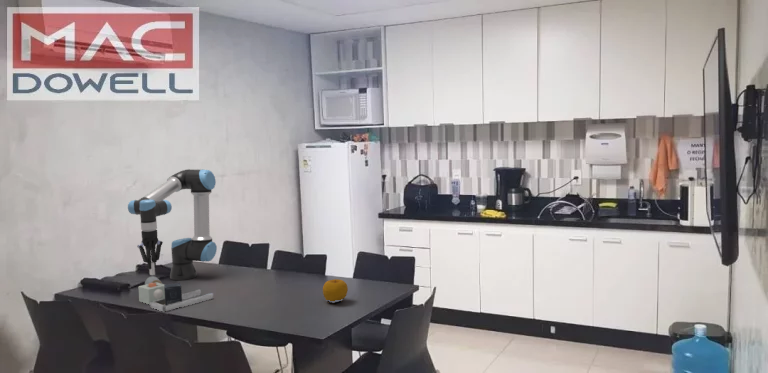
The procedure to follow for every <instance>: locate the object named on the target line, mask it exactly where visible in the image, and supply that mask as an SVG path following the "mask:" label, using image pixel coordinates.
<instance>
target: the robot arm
mask: <svg viewBox="0 0 768 373" xmlns="http://www.w3.org/2000/svg"><path fill="white" fill-rule="evenodd" d="M216 182H217V181H216V176H215V175H214V173H213V172H212V171H211V170H210V169H189V168H188V169H182V170H180V171H177V172H175V173H174V174H173V175H171V176H169V177H168V178H167V179H166V181H165V182H163V183H162V184H160V185H159V186H158V187H156V188H154V189H152V190H151V191H150V192H149V193H147V194H145V195H144V196H143V197H141V198H139V199H138V200H136V199H135V200H130V201H129V202H128V204H127V209H128V212H129V214H131V215H137V216H138V215H139V217H140V229H141V242H140V244H137V248H138V250H139V252H140V254H141V255H140V256H141V258H142V261H143V262H144V263H146V264H147V269H148V270H149V271H148V272H149V275H150V276H156V268H157V262H158V261H159V260H160V256H161V248H162V245H163V243H164V241H162V240H159V238H158V230H157V229H158V227H157V226H158V225H157V223H158V222H157V217H160V216H165V215H167V214H169V213H171V212H172V203H171V202H170V201H169V200H167V198H168V197H170V196H172V195H173V194H174V193H178V192H180V191H182V190H190V193H191V195H192V196H193V226H194V228H193V233H194V234H193V237H184V238H179V239H175V240H172V241H171V265H172V266H171V269H170V272H169V273H170V274H169V278H170V280H172V281H186V280H192V279H194V278H196V277H197V276H198V275H197V270H196V268H195V265H194V262H203V263H204V262H210V261H212V260H213V259H214V258H215V256H216V254H217V249H218V248H217V244H216V243H215V242H214V241H213V237H212V236H211V235H210V194H211V193H212V191H213V189H215V186H216ZM144 248H145V249H144Z"/></svg>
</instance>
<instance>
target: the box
mask: <svg viewBox="0 0 768 373" xmlns="http://www.w3.org/2000/svg"><path fill="white" fill-rule="evenodd" d="M164 292H165V305H168V304H172V303H176V302H179V301H183V300H182V294H183V293H182V284H181V283H180V282H177V283H175V282H174V283H169V284H168V283H167V284H164Z"/></svg>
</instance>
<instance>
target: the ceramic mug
mask: <svg viewBox="0 0 768 373" xmlns="http://www.w3.org/2000/svg"><path fill="white" fill-rule="evenodd" d="M155 282H158V283H161V284H163V282H162V281H161V280H160V279H159V278H158V277H156V276H155V275H151V276H149V277H147V278H146V280H144V285H146V284H149V283H155Z"/></svg>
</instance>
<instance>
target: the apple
mask: <svg viewBox="0 0 768 373" xmlns="http://www.w3.org/2000/svg"><path fill="white" fill-rule="evenodd" d="M348 290H349V287H348V284H347V282H345V281H344V280H343V279H337V278H335V279H329V280H327V281H325V282H324V284H323V287H322V294H323V297H324V299H325V301H326V300H330V301H335V300H341V299H343V298H344V299H345V298H346V296H347V295H348ZM344 299H343V300H344Z"/></svg>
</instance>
